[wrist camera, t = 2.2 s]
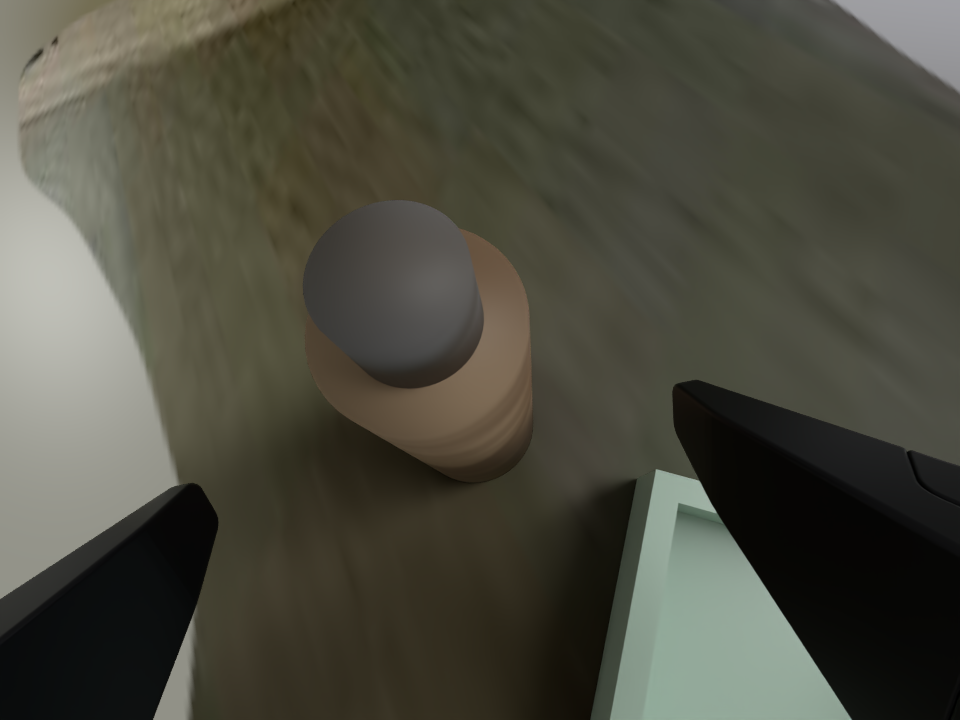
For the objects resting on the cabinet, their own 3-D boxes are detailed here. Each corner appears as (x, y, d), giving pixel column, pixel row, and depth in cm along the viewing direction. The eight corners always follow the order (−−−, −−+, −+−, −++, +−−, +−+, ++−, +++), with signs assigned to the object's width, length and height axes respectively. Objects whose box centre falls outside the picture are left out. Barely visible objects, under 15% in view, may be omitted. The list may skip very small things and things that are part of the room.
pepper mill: (515, 497, 18) (480, 447, 7) (401, 463, 19) (203, 368, 8) (545, 383, 19) (558, 181, 8) (438, 355, 20) (314, 140, 9)
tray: (952, 963, 13) (1067, 1084, 10) (573, 805, 15) (582, 870, 12) (954, 566, 16) (1044, 575, 13) (637, 478, 18) (656, 469, 15)
